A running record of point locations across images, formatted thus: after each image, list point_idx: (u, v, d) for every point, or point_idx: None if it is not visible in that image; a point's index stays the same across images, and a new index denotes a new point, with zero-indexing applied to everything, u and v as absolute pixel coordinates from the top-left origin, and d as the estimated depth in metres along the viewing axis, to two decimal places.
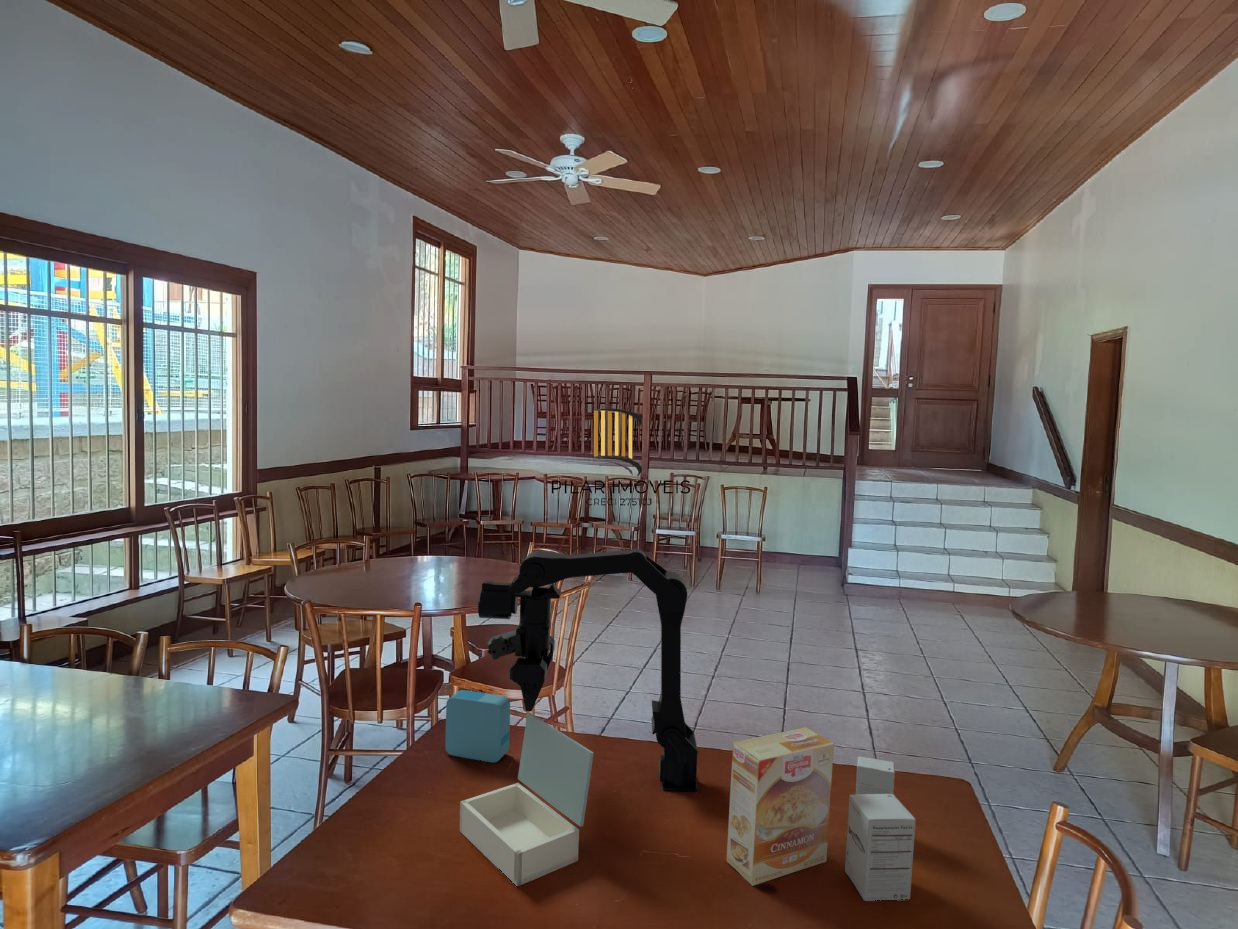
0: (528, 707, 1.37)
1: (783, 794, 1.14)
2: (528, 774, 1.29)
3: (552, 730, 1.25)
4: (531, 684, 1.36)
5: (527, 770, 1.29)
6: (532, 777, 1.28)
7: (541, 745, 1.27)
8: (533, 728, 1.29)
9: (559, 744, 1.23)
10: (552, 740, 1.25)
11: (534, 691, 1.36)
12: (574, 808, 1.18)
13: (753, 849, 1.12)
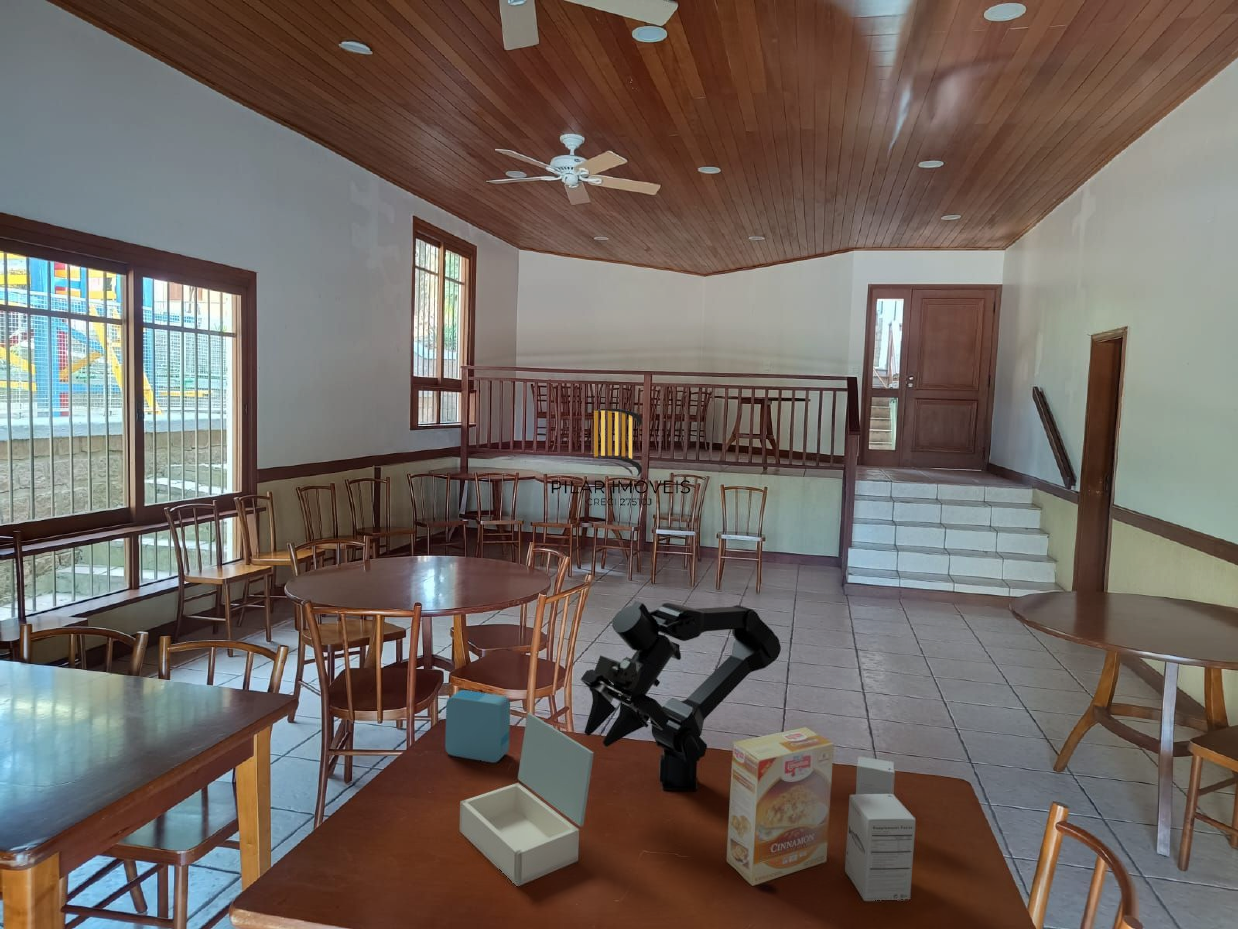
0: (608, 741, 1.27)
1: (783, 794, 1.14)
2: (528, 774, 1.29)
3: (552, 730, 1.25)
4: (628, 721, 1.29)
5: (527, 770, 1.29)
6: (532, 777, 1.28)
7: (541, 745, 1.27)
8: (533, 728, 1.29)
9: (559, 744, 1.23)
10: (552, 740, 1.25)
11: (627, 729, 1.28)
12: (574, 808, 1.18)
13: (753, 849, 1.12)
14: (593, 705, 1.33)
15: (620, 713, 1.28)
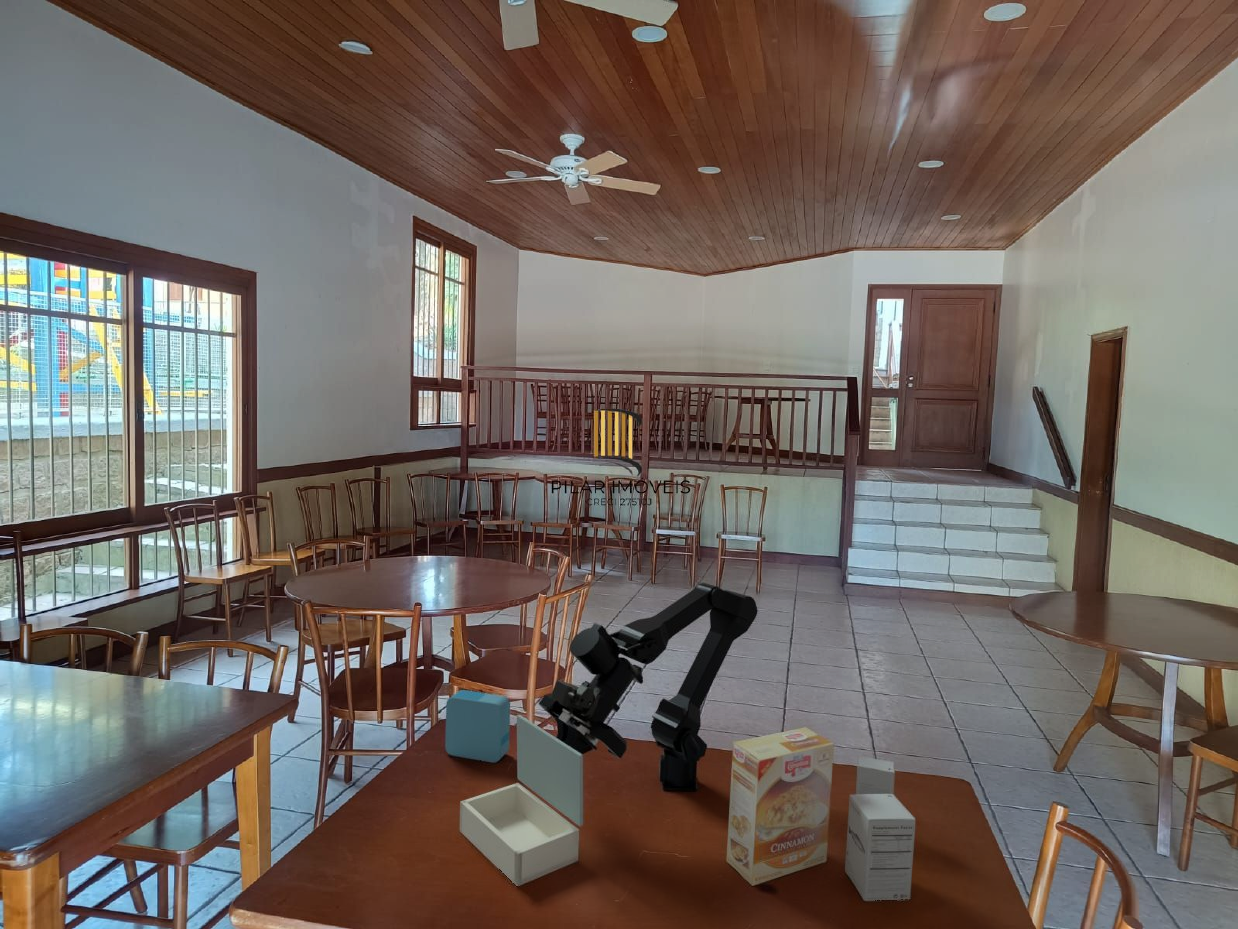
0: None
1: (783, 794, 1.14)
2: (526, 775, 1.28)
3: (541, 732, 1.24)
4: (577, 744, 1.25)
5: (525, 771, 1.29)
6: (530, 778, 1.27)
7: (533, 747, 1.26)
8: (524, 730, 1.28)
9: (550, 746, 1.22)
10: (543, 742, 1.24)
11: None
12: (572, 809, 1.18)
13: (753, 849, 1.12)
14: (558, 736, 1.26)
15: (568, 736, 1.24)
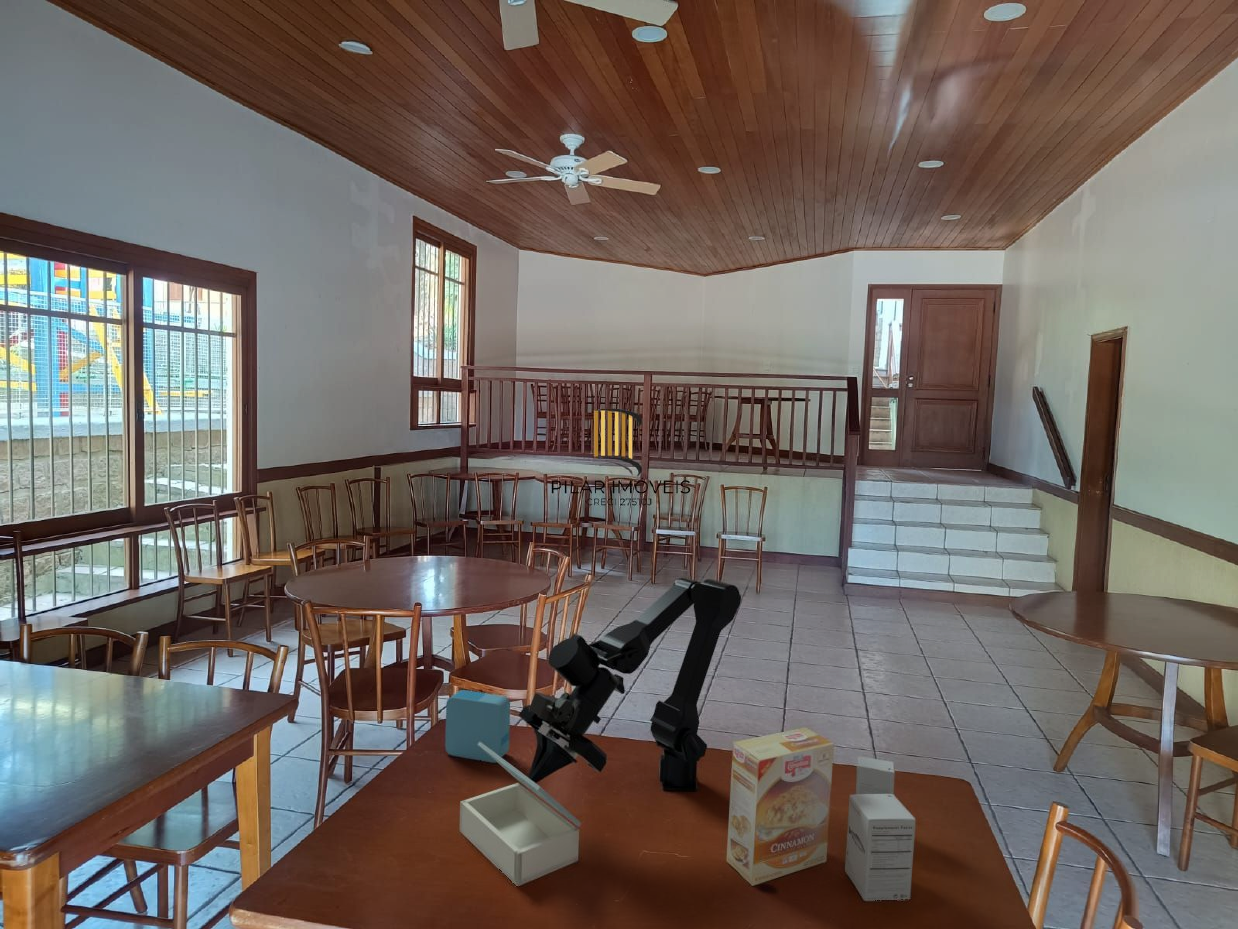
0: (535, 779, 1.21)
1: (783, 794, 1.14)
2: (519, 780, 1.28)
3: (501, 763, 1.19)
4: (556, 757, 1.23)
5: (516, 778, 1.28)
6: (523, 783, 1.27)
7: (506, 768, 1.23)
8: (490, 755, 1.24)
9: (515, 774, 1.18)
10: (508, 769, 1.20)
11: (554, 766, 1.22)
12: (564, 815, 1.17)
13: (753, 849, 1.12)
14: (537, 750, 1.24)
15: (547, 749, 1.22)
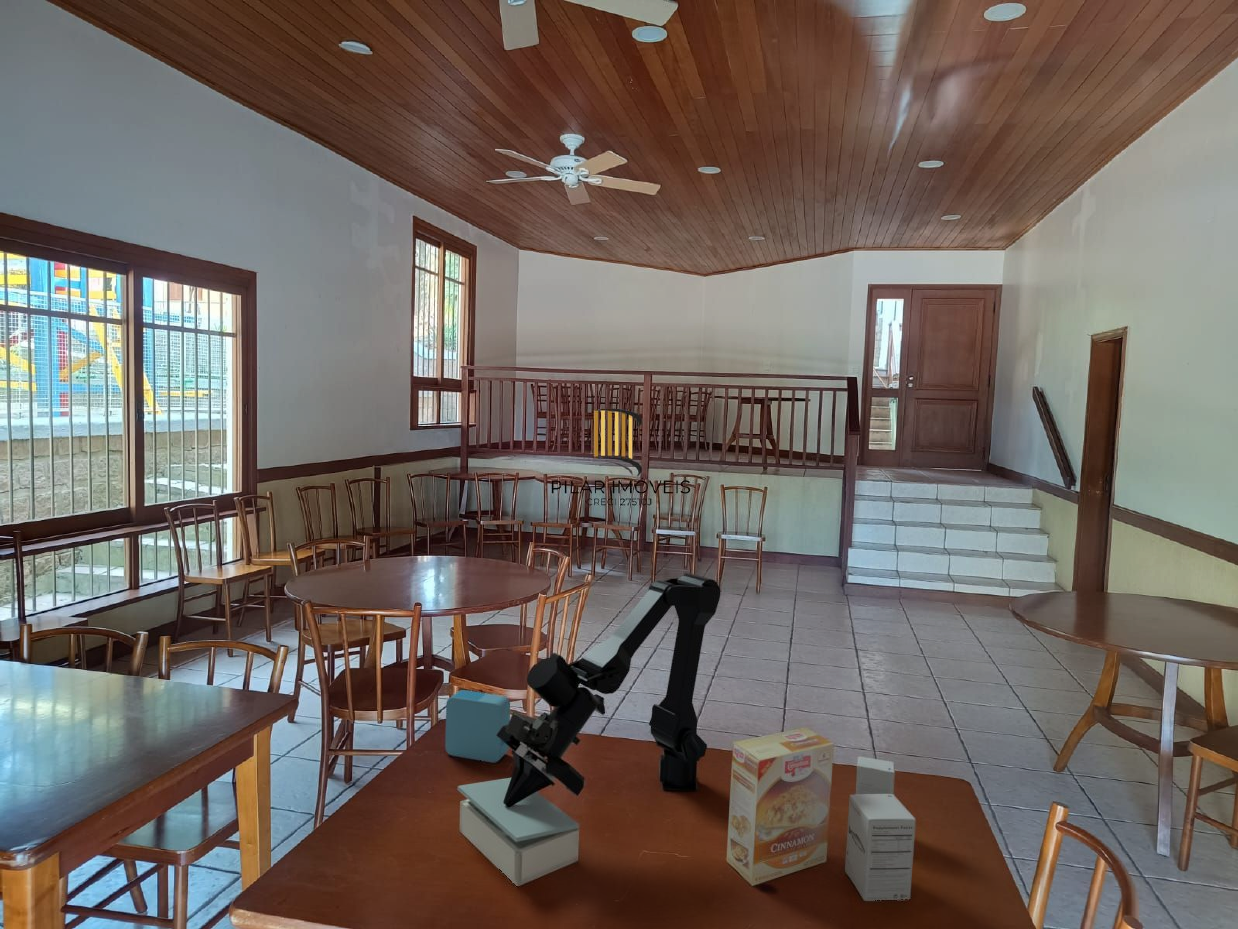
0: (511, 802, 1.19)
1: (783, 794, 1.14)
2: None
3: None
4: (533, 779, 1.20)
5: None
6: None
7: None
8: None
9: None
10: None
11: (531, 788, 1.20)
12: None
13: (753, 849, 1.12)
14: (514, 771, 1.21)
15: (524, 771, 1.19)
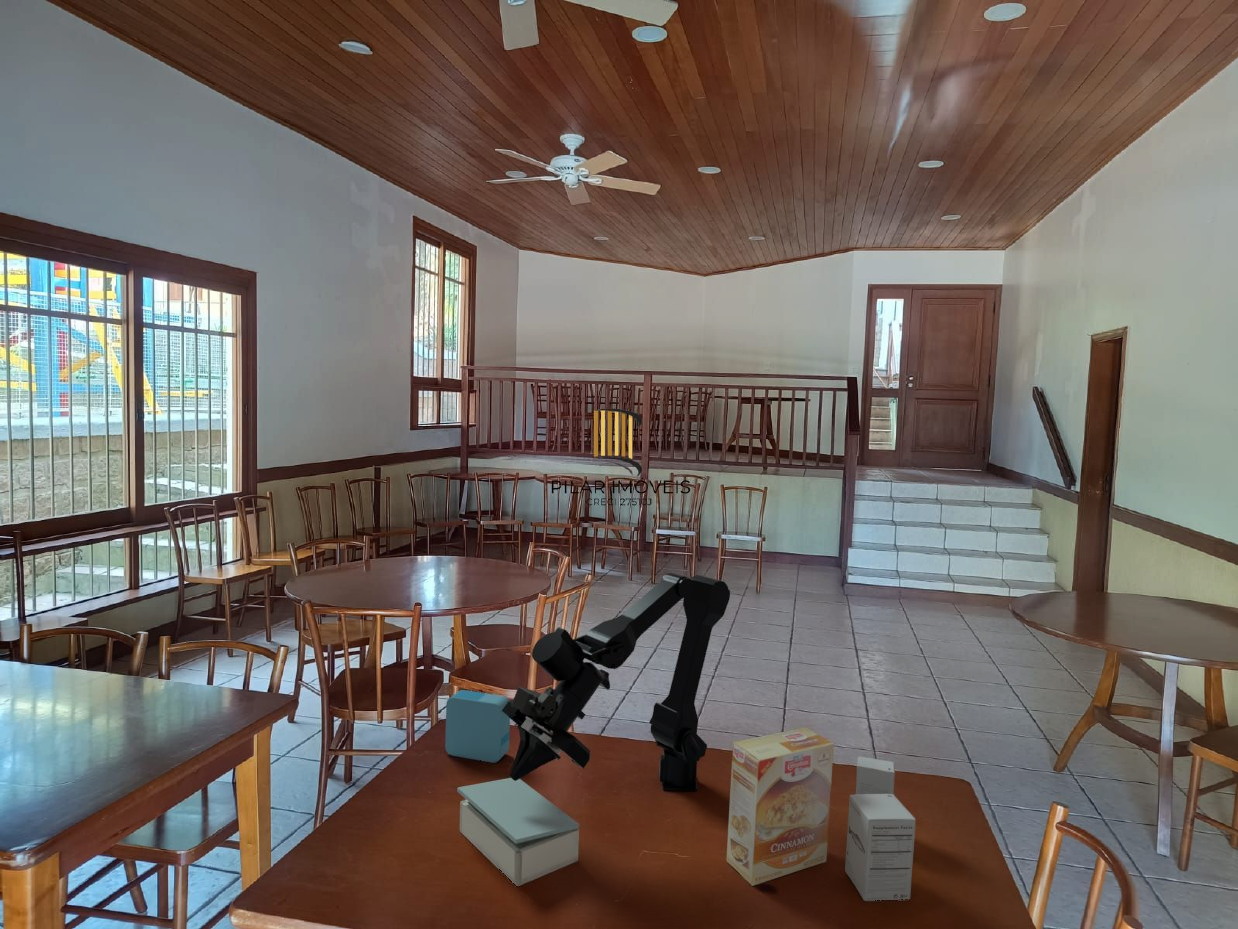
0: (517, 775, 1.19)
1: (783, 794, 1.14)
2: None
3: (481, 812, 1.18)
4: (539, 753, 1.20)
5: None
6: None
7: None
8: None
9: None
10: None
11: (537, 762, 1.20)
12: None
13: (753, 849, 1.12)
14: (520, 745, 1.21)
15: (530, 745, 1.20)
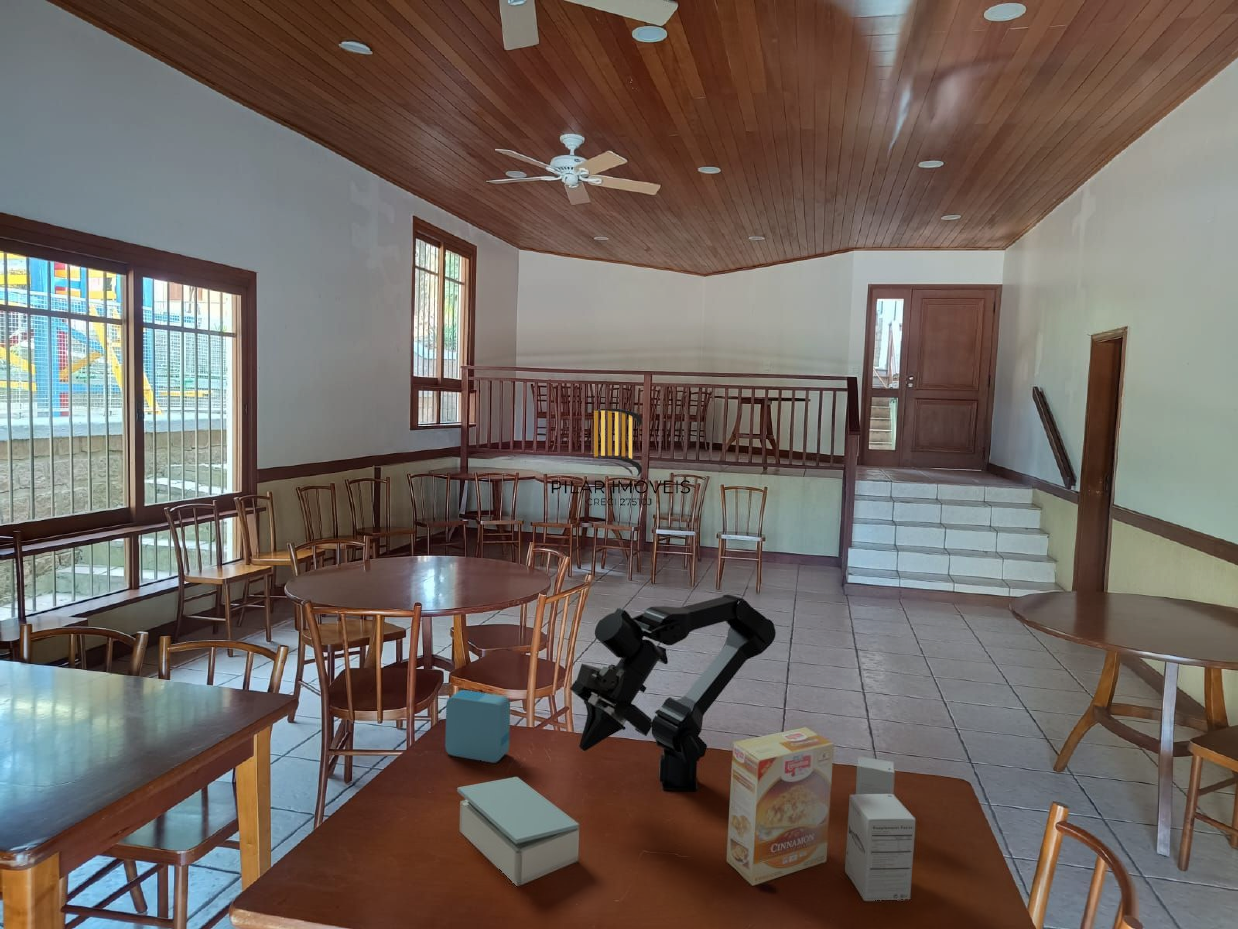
0: (586, 745, 1.28)
1: (783, 794, 1.14)
2: None
3: (481, 812, 1.18)
4: (605, 725, 1.29)
5: None
6: None
7: None
8: None
9: None
10: None
11: (604, 733, 1.29)
12: None
13: (753, 849, 1.12)
14: (587, 718, 1.31)
15: (596, 717, 1.29)
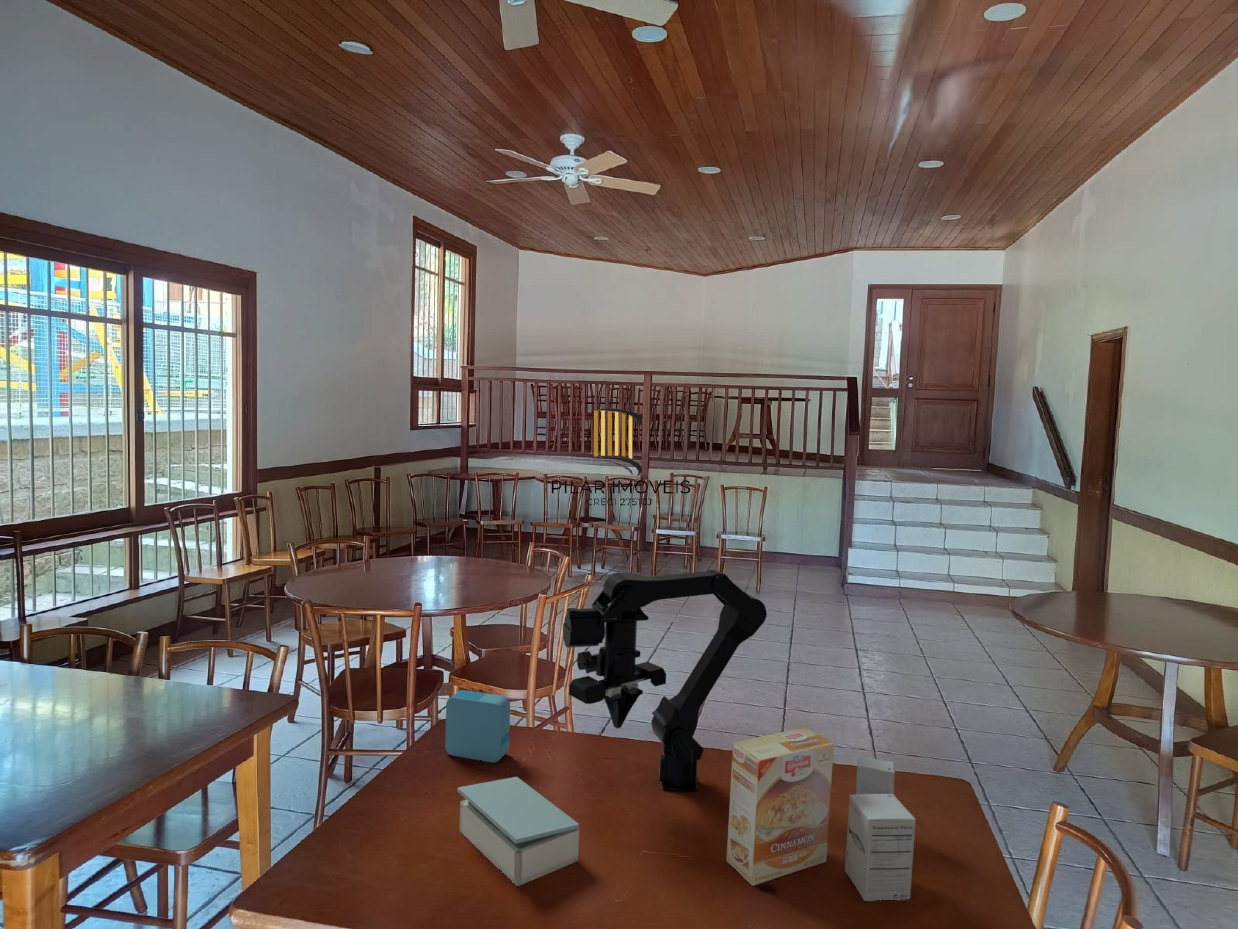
0: (614, 723, 1.38)
1: (783, 794, 1.14)
2: None
3: (481, 812, 1.18)
4: None
5: None
6: None
7: None
8: None
9: None
10: None
11: (615, 708, 1.36)
12: None
13: (753, 849, 1.12)
14: None
15: None
